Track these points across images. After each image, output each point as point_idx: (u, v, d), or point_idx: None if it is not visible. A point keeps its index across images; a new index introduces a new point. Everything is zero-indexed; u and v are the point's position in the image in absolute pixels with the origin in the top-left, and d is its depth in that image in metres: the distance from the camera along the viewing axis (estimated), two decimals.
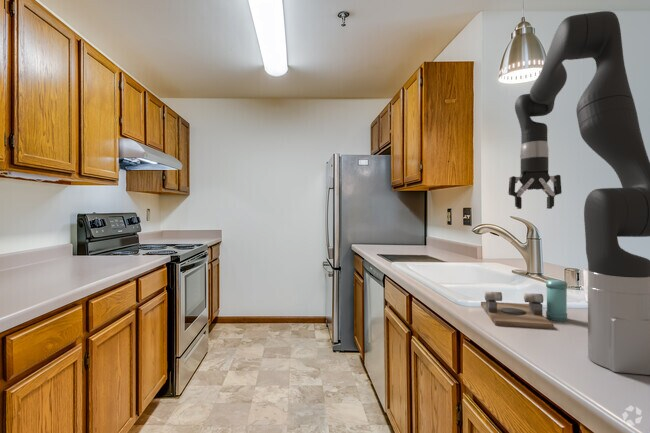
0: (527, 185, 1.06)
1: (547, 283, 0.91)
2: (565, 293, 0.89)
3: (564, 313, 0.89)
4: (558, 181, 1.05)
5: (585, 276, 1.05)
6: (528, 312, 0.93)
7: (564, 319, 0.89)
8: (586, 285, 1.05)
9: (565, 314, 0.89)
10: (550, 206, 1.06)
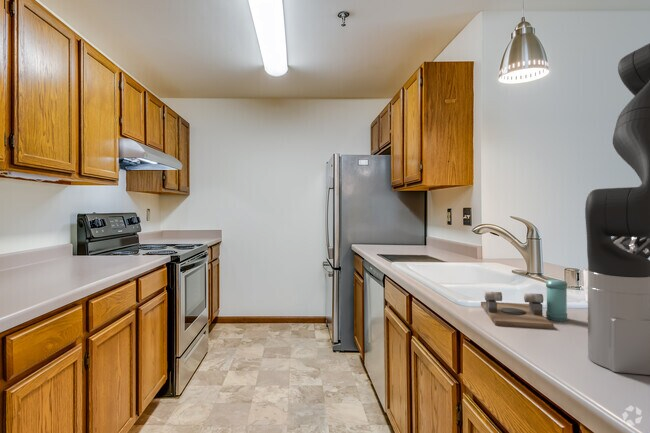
0: (620, 238, 0.89)
1: (547, 283, 0.91)
2: (565, 293, 0.89)
3: (564, 313, 0.89)
4: (648, 240, 0.80)
5: (585, 276, 1.05)
6: (528, 312, 0.93)
7: (564, 319, 0.89)
8: (586, 285, 1.05)
9: (565, 314, 0.89)
10: None
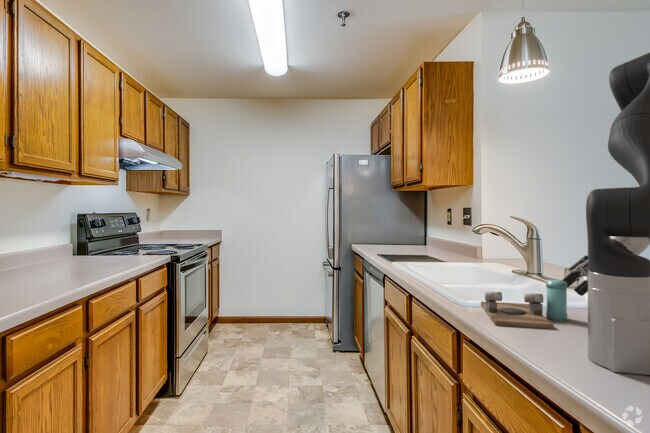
0: (582, 263, 0.91)
1: (547, 283, 0.91)
2: (565, 293, 0.89)
3: (564, 313, 0.89)
4: None
5: None
6: (528, 312, 0.93)
7: (564, 319, 0.89)
8: None
9: (565, 314, 0.89)
10: (575, 288, 0.86)
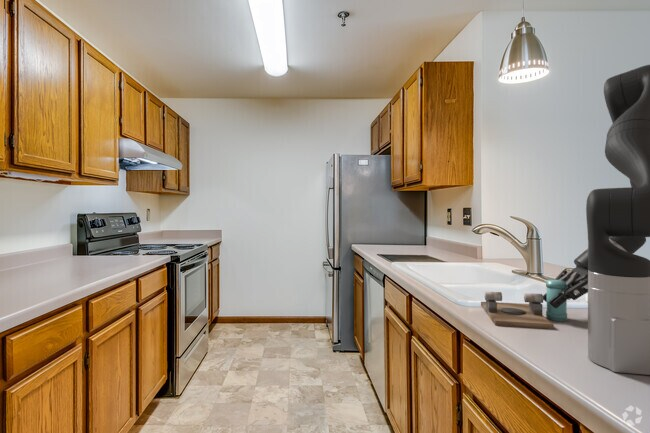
0: (564, 277, 0.92)
1: (547, 283, 0.91)
2: None
3: (564, 313, 0.89)
4: (579, 283, 0.84)
5: None
6: (528, 312, 0.93)
7: (564, 319, 0.89)
8: None
9: (565, 314, 0.89)
10: (550, 300, 0.89)
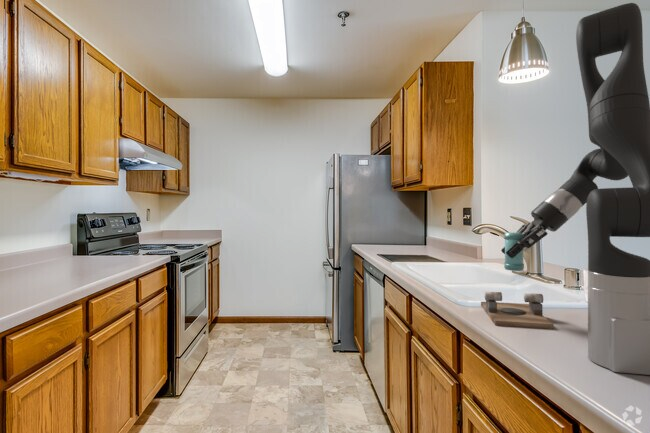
0: (521, 229, 0.94)
1: (505, 235, 0.93)
2: None
3: (520, 263, 0.91)
4: (533, 231, 0.87)
5: (585, 276, 1.05)
6: (528, 312, 0.93)
7: (520, 269, 0.91)
8: (586, 285, 1.05)
9: (521, 264, 0.91)
10: (507, 251, 0.91)
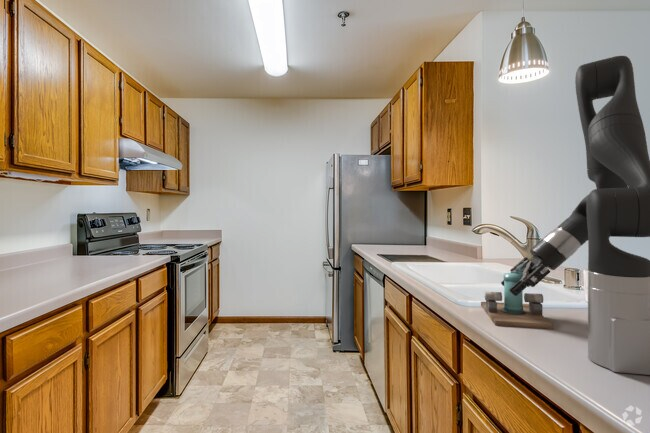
0: (520, 265, 0.95)
1: (504, 276, 0.94)
2: None
3: (520, 305, 0.92)
4: (536, 269, 0.86)
5: (585, 276, 1.05)
6: (528, 312, 0.93)
7: (520, 311, 0.91)
8: (586, 285, 1.05)
9: (521, 306, 0.92)
10: (510, 288, 0.90)
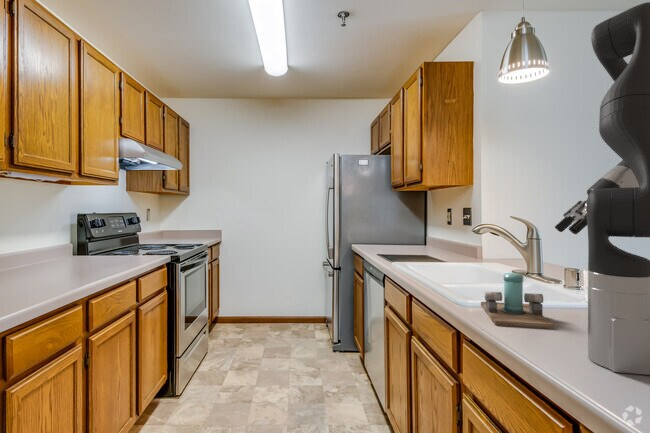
0: (576, 207, 0.93)
1: (504, 276, 0.94)
2: (521, 286, 0.92)
3: (520, 305, 0.92)
4: None
5: (585, 276, 1.05)
6: (528, 312, 0.93)
7: (520, 311, 0.91)
8: (586, 285, 1.05)
9: (521, 306, 0.92)
10: (570, 227, 0.88)
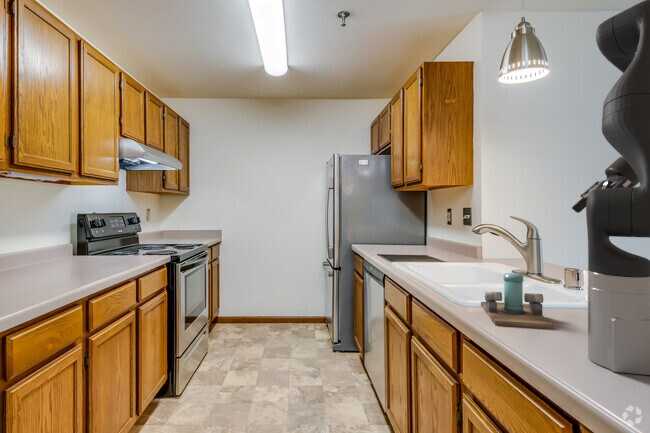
0: (594, 187, 0.93)
1: (504, 276, 0.94)
2: (521, 286, 0.92)
3: (520, 305, 0.92)
4: (618, 183, 0.84)
5: (585, 276, 1.05)
6: (528, 312, 0.93)
7: (520, 311, 0.91)
8: (586, 285, 1.05)
9: (521, 306, 0.92)
10: None
